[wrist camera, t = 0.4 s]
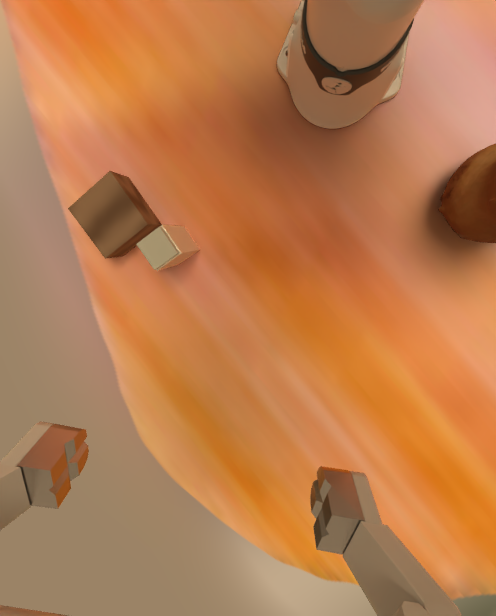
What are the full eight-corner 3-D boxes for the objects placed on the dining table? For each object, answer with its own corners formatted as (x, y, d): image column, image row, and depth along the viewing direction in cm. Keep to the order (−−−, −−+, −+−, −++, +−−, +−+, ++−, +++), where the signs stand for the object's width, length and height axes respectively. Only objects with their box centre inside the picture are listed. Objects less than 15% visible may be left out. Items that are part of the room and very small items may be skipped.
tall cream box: (163, 241, 55) (134, 243, 44) (184, 226, 54) (159, 224, 43) (179, 264, 56) (154, 271, 45) (200, 249, 54) (179, 253, 44)
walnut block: (90, 211, 55) (68, 208, 50) (129, 177, 53) (109, 170, 47) (123, 255, 57) (105, 258, 51) (162, 225, 54) (147, 224, 49)
